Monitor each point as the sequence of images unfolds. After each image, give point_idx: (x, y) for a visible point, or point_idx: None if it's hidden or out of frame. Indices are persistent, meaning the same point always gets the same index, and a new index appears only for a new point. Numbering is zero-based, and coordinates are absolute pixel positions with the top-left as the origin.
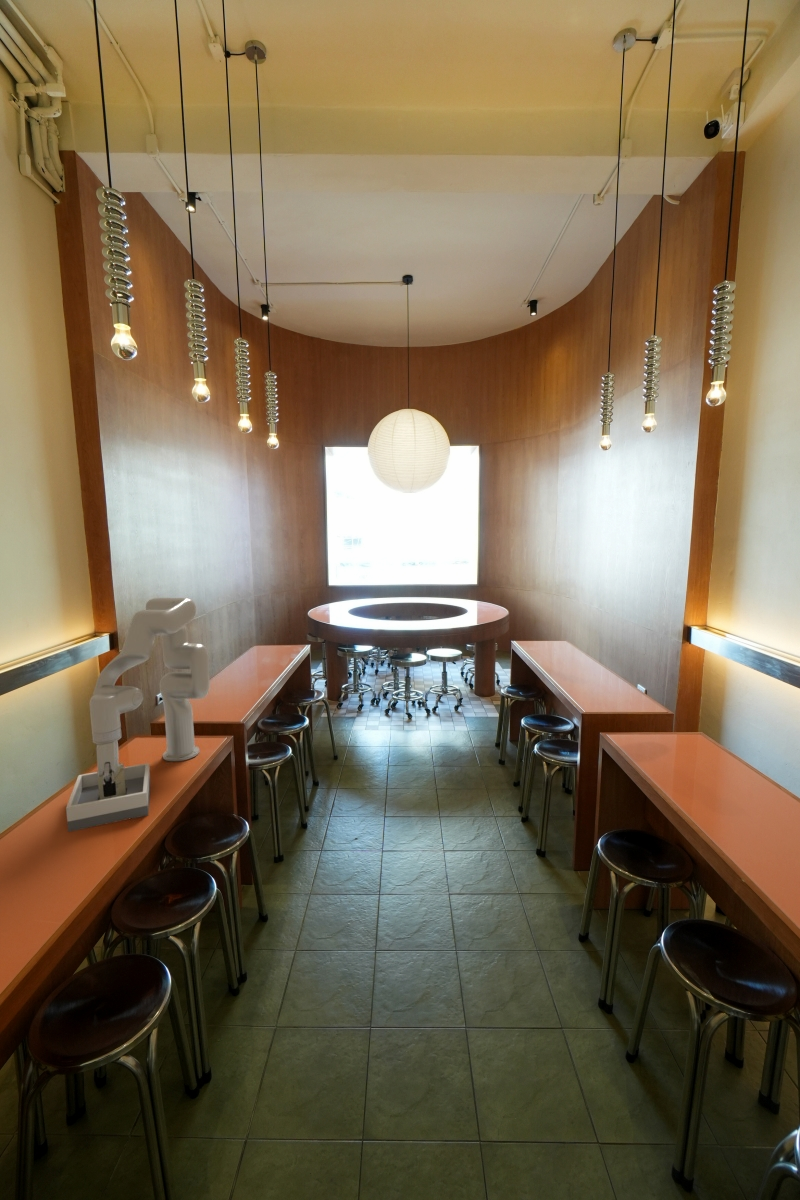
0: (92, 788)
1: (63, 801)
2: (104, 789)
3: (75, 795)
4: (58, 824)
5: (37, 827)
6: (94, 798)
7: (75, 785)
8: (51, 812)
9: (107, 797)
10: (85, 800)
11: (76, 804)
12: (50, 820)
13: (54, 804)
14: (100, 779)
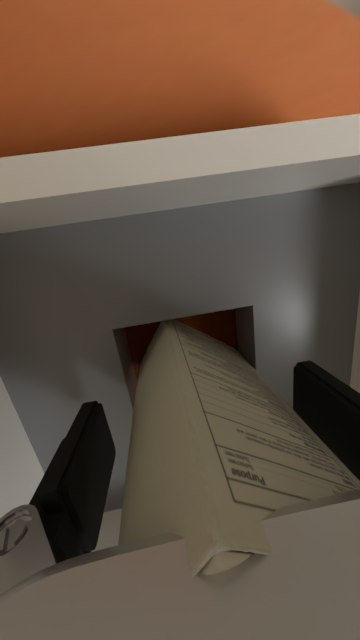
0: (332, 246)
1: (320, 89)
2: (66, 449)
3: (91, 197)
4: (51, 146)
5: (32, 8)
6: (193, 296)
7: (288, 132)
8: (207, 49)
9: (143, 383)
10: (183, 250)
11: (114, 214)
12: (107, 76)
13: (305, 37)
14: (165, 443)
